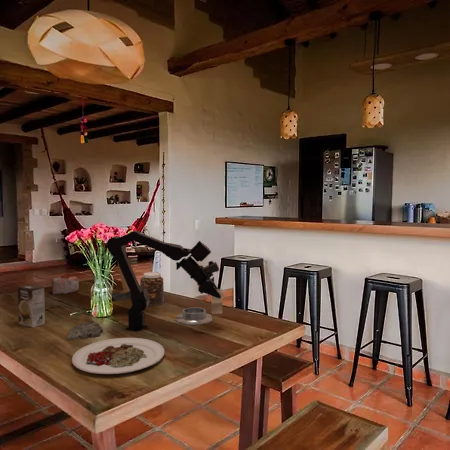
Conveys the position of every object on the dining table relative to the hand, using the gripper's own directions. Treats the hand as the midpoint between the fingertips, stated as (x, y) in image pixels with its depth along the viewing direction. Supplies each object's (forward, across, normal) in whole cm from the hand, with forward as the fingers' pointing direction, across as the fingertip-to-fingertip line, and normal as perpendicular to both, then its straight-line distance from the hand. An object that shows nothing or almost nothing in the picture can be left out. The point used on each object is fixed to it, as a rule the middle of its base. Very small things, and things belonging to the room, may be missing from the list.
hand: (220, 296), depth 167 cm
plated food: (-14, -31, +34) cm, 48 cm away
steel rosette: (+2, +12, +18) cm, 21 cm away
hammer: (-25, +49, +45) cm, 71 cm away
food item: (-51, +61, +71) cm, 106 cm away
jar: (-14, +39, +34) cm, 54 cm away
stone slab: (-28, -5, +49) cm, 56 cm away
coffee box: (-46, +5, +66) cm, 81 cm away
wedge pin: (+4, 0, +6) cm, 7 cm away
